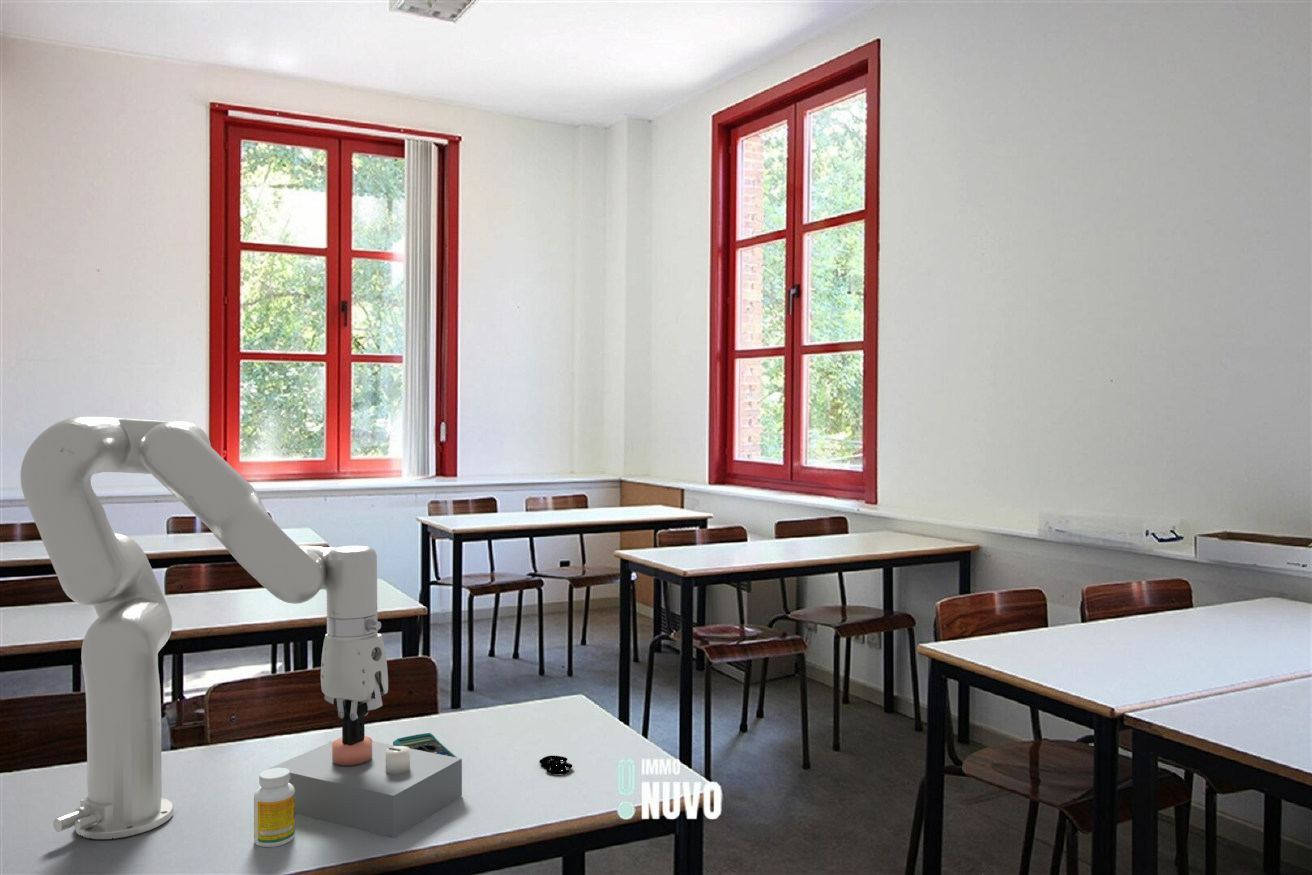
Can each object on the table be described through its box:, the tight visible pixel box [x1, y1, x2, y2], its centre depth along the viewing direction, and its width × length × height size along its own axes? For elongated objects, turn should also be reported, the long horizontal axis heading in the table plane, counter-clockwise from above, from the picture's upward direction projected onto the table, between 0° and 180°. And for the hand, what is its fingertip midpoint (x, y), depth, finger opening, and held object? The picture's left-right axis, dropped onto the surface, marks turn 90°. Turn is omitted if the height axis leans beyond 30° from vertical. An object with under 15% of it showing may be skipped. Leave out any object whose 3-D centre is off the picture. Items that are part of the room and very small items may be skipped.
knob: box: [386, 746, 410, 774], centre depth 144 cm, size 4×4×3 cm
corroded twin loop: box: [538, 755, 573, 775], centre depth 161 cm, size 5×8×1 cm, turn 23°
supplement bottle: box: [253, 768, 296, 848], centre depth 133 cm, size 5×5×10 cm
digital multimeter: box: [392, 732, 458, 758], centre depth 164 cm, size 7×15×3 cm, turn 32°
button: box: [332, 735, 373, 765], centre depth 148 cm, size 6×6×5 cm
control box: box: [269, 736, 463, 838], centre depth 147 cm, size 16×24×6 cm, turn 65°
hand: (353, 741), depth 148 cm, fingers closed
